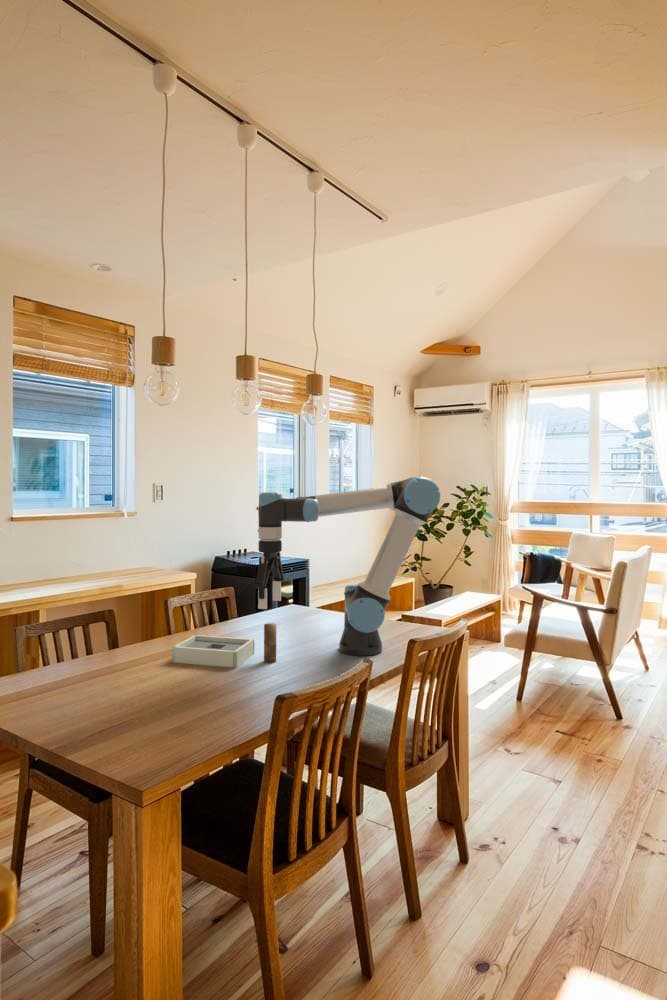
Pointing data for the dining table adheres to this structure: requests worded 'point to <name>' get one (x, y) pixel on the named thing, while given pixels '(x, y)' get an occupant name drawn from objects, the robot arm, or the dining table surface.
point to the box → (213, 651)
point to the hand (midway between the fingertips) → (269, 604)
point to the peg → (269, 643)
